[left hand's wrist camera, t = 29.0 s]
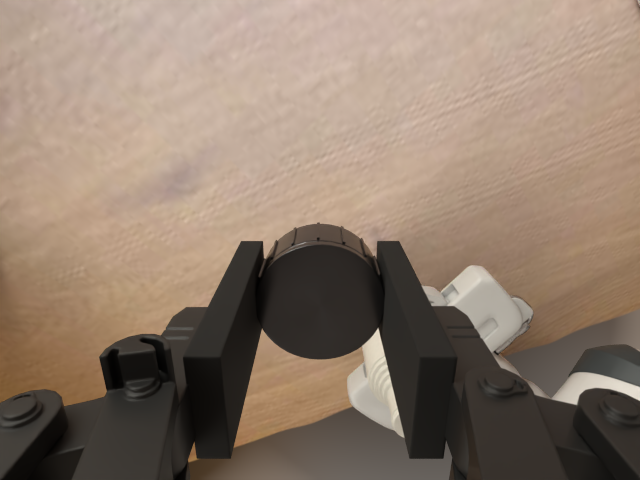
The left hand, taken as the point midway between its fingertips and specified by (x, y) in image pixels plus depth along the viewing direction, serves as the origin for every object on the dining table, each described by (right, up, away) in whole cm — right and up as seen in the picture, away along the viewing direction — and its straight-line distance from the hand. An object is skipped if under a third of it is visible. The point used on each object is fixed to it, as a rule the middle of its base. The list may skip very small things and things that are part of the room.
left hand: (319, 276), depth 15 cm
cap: (0, -1, -2) cm, 2 cm away
